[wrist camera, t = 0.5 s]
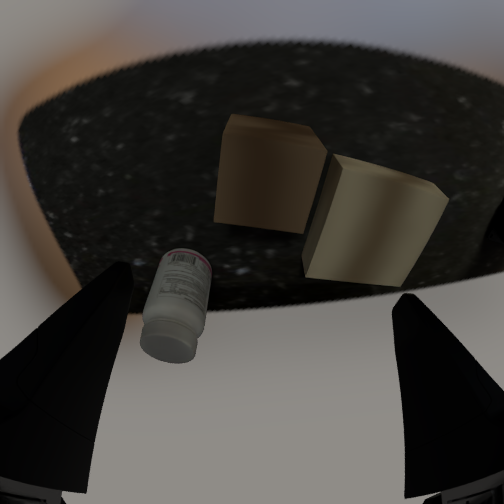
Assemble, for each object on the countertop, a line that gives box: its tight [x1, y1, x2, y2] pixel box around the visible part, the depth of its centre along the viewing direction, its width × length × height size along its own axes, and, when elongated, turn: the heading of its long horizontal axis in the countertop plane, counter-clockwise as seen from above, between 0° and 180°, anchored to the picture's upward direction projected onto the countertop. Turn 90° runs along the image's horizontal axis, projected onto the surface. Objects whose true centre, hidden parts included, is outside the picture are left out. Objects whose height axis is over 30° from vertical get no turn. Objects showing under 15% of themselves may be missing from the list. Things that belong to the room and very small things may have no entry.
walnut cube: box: [214, 114, 327, 234], centre depth 16 cm, size 5×5×5 cm
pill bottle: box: [140, 248, 212, 363], centre depth 21 cm, size 5×5×8 cm
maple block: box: [301, 154, 449, 287], centre depth 20 cm, size 9×9×3 cm
